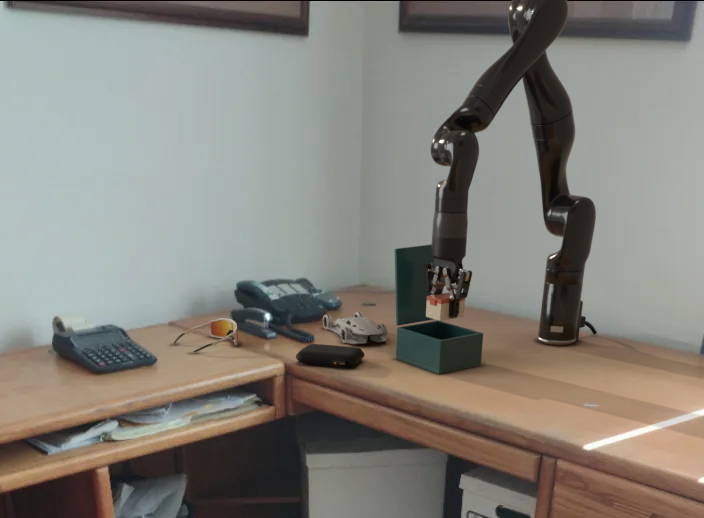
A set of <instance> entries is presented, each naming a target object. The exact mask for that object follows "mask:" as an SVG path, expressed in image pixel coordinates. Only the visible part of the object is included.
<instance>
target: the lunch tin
mask: <svg viewBox="0 0 704 518" xmlns="http://www.w3.org/2000/svg"><path fill="white" fill-rule="evenodd" d="M483 342H484V333H483V332H480V331H477V330H474V329H470V328H468V327H467V328H466V327H463V326H459V325H456V324H453V323H450V322H446V321H444V320H442V321H439V320H430V321H425V322H419V323H413V324H407V325H401V326H398V327H396V348H395V349H396V353H395V359H396V360H397V361H401V362H404V363H406V364H409V365H412V366H415V367H418V368H420V369H423V370H426V371H429V372H431V373H434V374H437V375H441V374H447V373H452V372H456V371H461V370H467V369H470V368H476V367H481V365H482V355H483V344H484V343H483Z"/></svg>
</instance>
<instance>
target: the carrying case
mask: <svg viewBox="0 0 704 518" xmlns="http://www.w3.org/2000/svg"><path fill="white" fill-rule="evenodd" d="M365 355H366V354H365V352H364V350H362V348H361V347H356V346H355V347H354V346H344V345H343V346H342V345H333V344H323V343H321V344H320V343H310V344H307V345H306V346H305V347H303V348H301V349H300V350H299V351H298V352H297V353H296V354H295V359H296V360H297V361H298V363H300V364H304V365H311V366H312V365H313V366H324V367H333V368H344V369H345V368H346V369H347V368H348V369H349V368H353V367H355V366H356V365H357V364H359V362H361V361H362V359H363V358H365Z"/></svg>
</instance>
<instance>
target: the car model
mask: <svg viewBox="0 0 704 518" xmlns="http://www.w3.org/2000/svg"><path fill="white" fill-rule="evenodd" d="M332 318H333V317H332V316H331V315H330V314H324V315H323V317H322V325H323V329H325V330H327V331H331V332H334V333H335V334H337V335H338V336H340V339H341V342H342V343H344V344H350V345H366V344H367V343H374V344H375V343H376V344H381V343H386V342H387V341H388V338H387V337H388V328H387V326H386V324H384V323H380V324H376V322H375V321H374V320H373V319H371V318H370V317H367V316H364V315H363V313H362V312H361V311H356V312H355V313H354V314H353V316H343V317H339V318H337V319H336V320H334V321H333V319H332Z"/></svg>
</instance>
